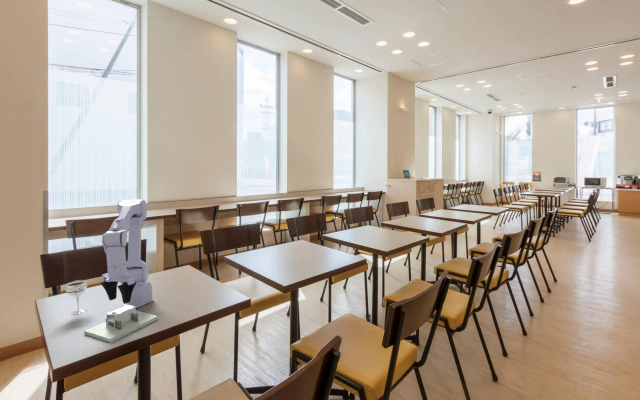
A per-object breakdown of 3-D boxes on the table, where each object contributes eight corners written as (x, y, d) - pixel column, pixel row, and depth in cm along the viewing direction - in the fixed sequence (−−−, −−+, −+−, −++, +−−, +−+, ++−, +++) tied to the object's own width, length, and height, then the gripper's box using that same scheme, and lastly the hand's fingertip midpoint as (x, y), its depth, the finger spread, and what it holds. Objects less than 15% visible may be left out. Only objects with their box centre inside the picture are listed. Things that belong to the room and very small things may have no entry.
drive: (128, 317, 123) (128, 304, 122) (136, 319, 121) (135, 306, 121) (107, 327, 116) (106, 313, 115) (114, 329, 114) (113, 315, 113)
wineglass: (82, 315, 128) (79, 285, 127) (63, 316, 128) (61, 286, 126) (92, 308, 135) (90, 279, 134) (75, 308, 134) (73, 280, 133)
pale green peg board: (132, 312, 130) (132, 303, 129) (157, 319, 124) (157, 309, 124) (84, 334, 113) (83, 323, 113) (110, 342, 108) (109, 331, 107)
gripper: (92, 265, 116) (95, 302, 117) (119, 270, 110) (122, 308, 112) (111, 259, 122) (114, 294, 124) (138, 264, 117) (141, 300, 118)
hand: (119, 301), depth 118 cm, fingers open, 7 cm apart
